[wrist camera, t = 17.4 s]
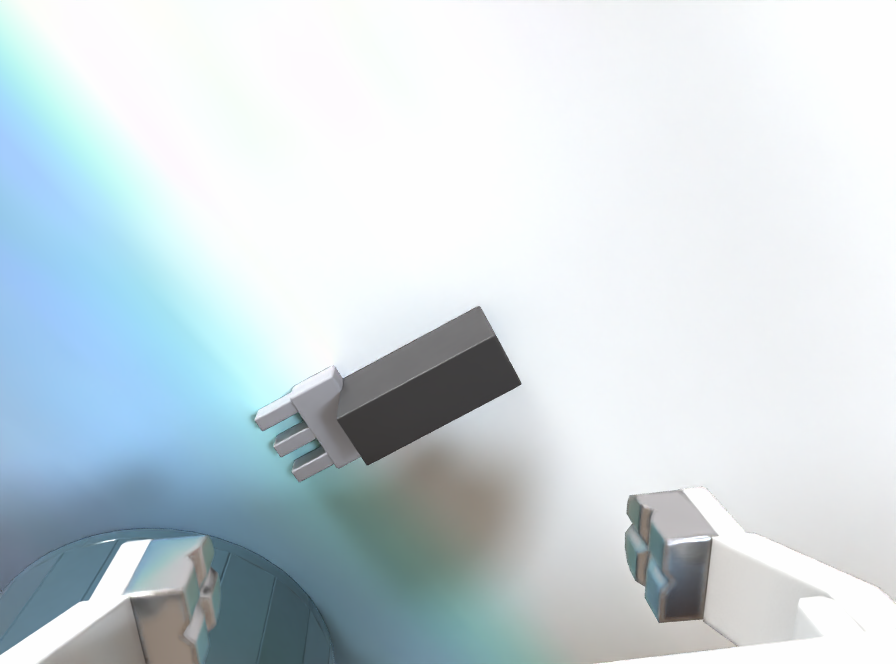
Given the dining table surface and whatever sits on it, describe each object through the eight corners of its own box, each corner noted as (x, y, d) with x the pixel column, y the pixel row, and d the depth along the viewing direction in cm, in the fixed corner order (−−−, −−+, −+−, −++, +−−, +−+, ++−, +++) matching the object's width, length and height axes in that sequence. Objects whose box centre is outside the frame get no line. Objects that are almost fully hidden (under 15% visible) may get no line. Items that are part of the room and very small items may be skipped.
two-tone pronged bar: (471, 289, 21) (485, 316, 18) (511, 364, 22) (530, 401, 19) (255, 406, 22) (236, 449, 19) (303, 474, 23) (293, 525, 20)
